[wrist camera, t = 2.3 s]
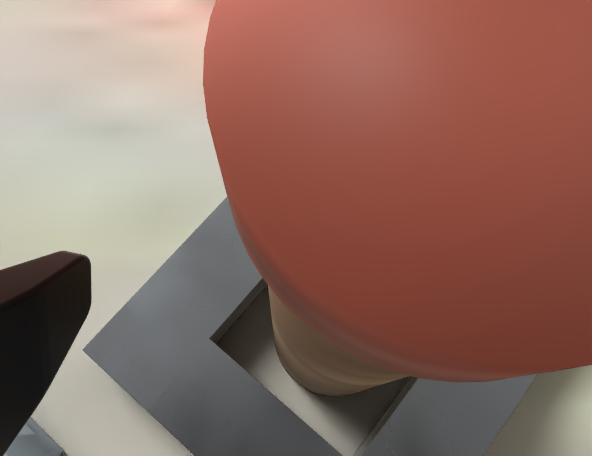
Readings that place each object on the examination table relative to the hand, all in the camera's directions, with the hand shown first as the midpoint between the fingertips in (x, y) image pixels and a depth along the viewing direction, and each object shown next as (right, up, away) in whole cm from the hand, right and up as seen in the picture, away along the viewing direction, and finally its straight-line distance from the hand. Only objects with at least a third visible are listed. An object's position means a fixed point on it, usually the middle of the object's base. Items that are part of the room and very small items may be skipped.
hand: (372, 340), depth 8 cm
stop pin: (0, -2, +10) cm, 10 cm away
